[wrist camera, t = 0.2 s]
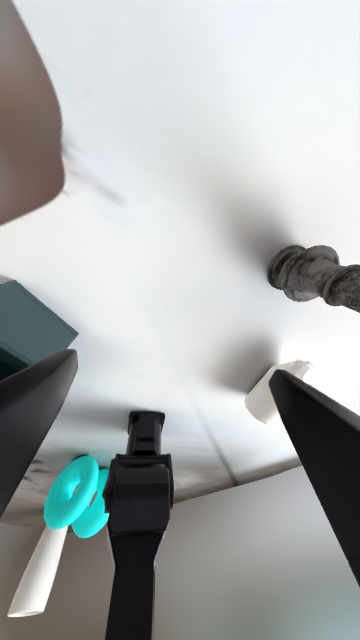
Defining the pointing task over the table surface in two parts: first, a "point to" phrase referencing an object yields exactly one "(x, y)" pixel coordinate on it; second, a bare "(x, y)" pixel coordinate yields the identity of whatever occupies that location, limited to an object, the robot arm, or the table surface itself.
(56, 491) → the donuts
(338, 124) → the table surface
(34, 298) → the open-top green box
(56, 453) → the table surface
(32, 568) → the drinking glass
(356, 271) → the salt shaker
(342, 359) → the table surface
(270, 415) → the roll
